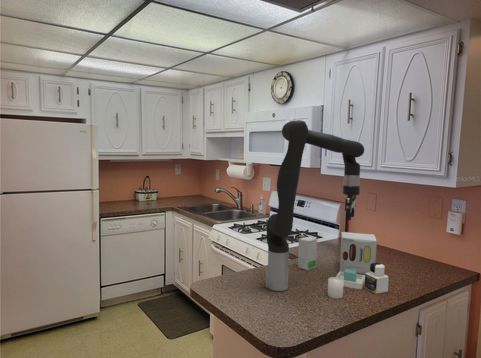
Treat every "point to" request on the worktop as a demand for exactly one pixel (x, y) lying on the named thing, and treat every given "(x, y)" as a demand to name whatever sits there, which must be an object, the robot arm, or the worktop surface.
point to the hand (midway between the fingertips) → (349, 218)
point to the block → (350, 275)
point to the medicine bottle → (376, 279)
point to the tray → (357, 285)
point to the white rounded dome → (335, 287)
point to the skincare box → (307, 253)
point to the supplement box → (357, 251)
